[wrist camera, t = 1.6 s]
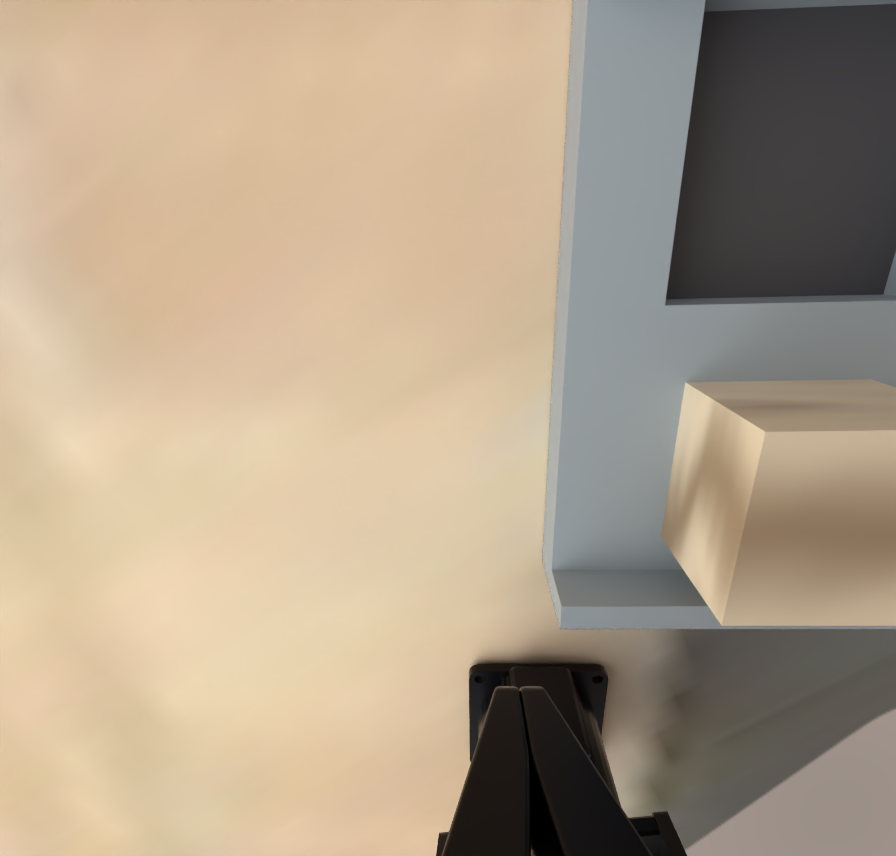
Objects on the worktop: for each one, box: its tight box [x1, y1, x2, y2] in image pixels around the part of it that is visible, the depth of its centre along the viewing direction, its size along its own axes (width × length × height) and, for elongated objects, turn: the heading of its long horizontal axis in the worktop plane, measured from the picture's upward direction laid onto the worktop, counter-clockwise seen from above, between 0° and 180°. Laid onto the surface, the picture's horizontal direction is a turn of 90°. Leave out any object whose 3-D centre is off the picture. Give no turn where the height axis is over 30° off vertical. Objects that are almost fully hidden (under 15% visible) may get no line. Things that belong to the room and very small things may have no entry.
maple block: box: [661, 379, 896, 626], centre depth 15 cm, size 6×6×4 cm
